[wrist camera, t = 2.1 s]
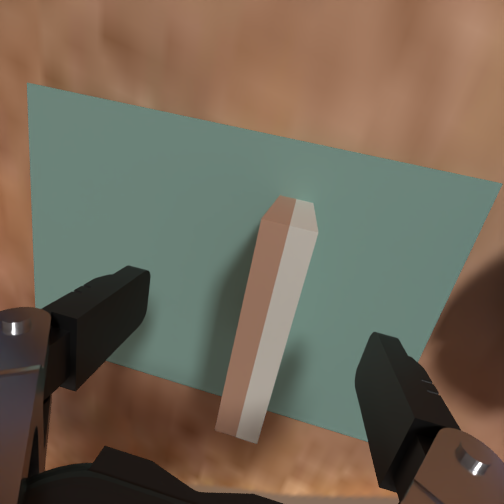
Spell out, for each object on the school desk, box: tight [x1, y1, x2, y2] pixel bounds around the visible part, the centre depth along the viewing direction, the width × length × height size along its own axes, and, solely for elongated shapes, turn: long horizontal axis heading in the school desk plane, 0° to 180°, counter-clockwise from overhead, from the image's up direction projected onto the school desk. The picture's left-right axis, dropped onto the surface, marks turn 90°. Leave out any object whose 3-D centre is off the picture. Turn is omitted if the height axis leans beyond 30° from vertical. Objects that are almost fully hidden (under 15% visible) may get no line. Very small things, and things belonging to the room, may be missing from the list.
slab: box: [215, 195, 318, 444], centre depth 12 cm, size 2×8×6 cm, turn 169°
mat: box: [27, 83, 502, 442], centre depth 16 cm, size 22×15×1 cm
